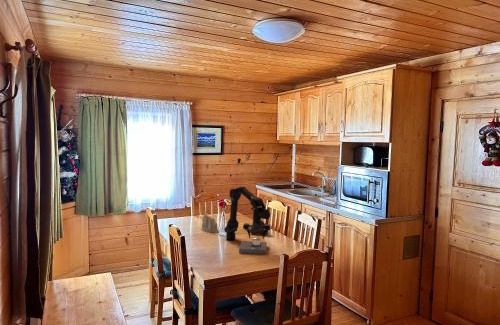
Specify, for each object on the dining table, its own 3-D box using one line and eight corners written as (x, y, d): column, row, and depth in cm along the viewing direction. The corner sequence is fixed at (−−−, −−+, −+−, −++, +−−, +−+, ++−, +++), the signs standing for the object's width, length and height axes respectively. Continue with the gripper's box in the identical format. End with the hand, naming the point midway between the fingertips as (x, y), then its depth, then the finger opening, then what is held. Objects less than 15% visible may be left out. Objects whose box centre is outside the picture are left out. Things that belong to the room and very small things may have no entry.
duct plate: (238, 253, 235) (239, 248, 234) (241, 244, 253) (241, 240, 252) (265, 254, 233) (265, 250, 233) (266, 246, 251) (266, 242, 251)
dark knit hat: (266, 227, 274) (269, 219, 288) (247, 227, 278) (251, 219, 292) (267, 238, 276) (270, 230, 291) (248, 238, 280) (252, 230, 294)
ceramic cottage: (211, 233, 280) (211, 214, 280) (197, 230, 291) (197, 212, 291) (224, 230, 292) (225, 212, 292) (210, 227, 303) (211, 210, 303)
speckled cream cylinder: (252, 248, 245) (253, 237, 245) (260, 248, 245) (260, 237, 244) (252, 250, 240) (252, 239, 240) (259, 251, 240) (259, 239, 239)
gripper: (242, 218, 234) (241, 241, 235) (270, 220, 232) (269, 242, 233) (244, 215, 245) (243, 236, 246) (270, 216, 243) (270, 238, 244)
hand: (256, 238), depth 242 cm, fingers open, 9 cm apart
